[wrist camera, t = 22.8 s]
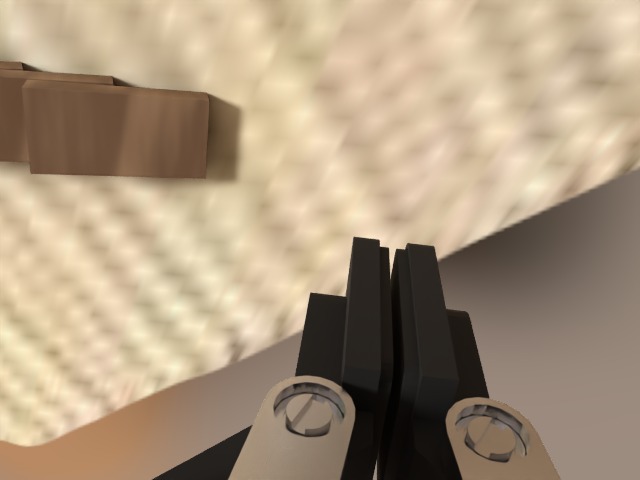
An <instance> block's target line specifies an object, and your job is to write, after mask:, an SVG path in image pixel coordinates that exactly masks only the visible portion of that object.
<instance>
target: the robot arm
mask: <svg viewBox="0 0 640 480" xmlns="http://www.w3.org/2000/svg"><path fill="white" fill-rule="evenodd" d="M376 460H377V480H561V478H560V476H559V474H558V472H557V470H556V468H555V467H554V464H553V462H552V461H551V459H550V457H549V455H548V453H547V451H546V449H545V447H544V445H543V443H542V441H541V439H540V437H539V435H538V433H537V431H536V430H535V428H534V427H533V425H532V424H531V422H530V421H529V420H528V419H527V418H525V417H524V416H523V415H522V414H521V413H520V412H519V411H517V410H515V409H514V408H512V407H510V406H509V405H507V404H505V403H502V402H499V401H496V400H493V399H489V395H488V390H487V386H486V382H485V378H484V374H483V370H482V366H481V362H480V358H479V353H478V349H477V345H476V341H475V337H474V333H473V329H472V325H471V321H470V317H469V314H468V313H467V312H465V311H457V310H449V309H446V307H445V302H444V296H443V290H442V285H441V280H440V275H439V269H438V263H437V258H436V253H435V248H434V246H427V245H419V244H410V243H407V245H406V249H405V250H404V249H396V252H395V257H394V263H393V268H392V274H391V280H390V261H389V248H387V247H380V241H379V240H377V239H368V238H360V237H354V238H353V245H352V253H351V260H350V268H349V275H348V283H347V290H346V297H343V296H334V295H326V294H318V293H310V298H309V303H308V308H307V314H306V319H305V325H304V330H303V336H302V341H301V347H300V353H299V358H298V363H297V368H296V374H295V377H292V378H289V379H287V380H284V381H281V382H280V383H278V384H277V385H276V386H274V387H273V388H272V389H271V390H270V392H269V393H268V395H267V396H266V397H265V400H264V402H263V404H262V406H261V409H260V411H259V413H258V415H257V417H256V419H255V422H254V424H253V425H252V426H250V427H248V428H246V429H244V430H242V431H240V432H239V433H237V434H235V435H233V436H231V437H229V438H227V439H226V440H224V441H222V442H220V443H218V444H217V445H215V446H213V447H211V448H209V449H207V450H205V451H204V452H202V453H200V454H198V455H196V456H195V457H193V458H191V459H189V460H187V461H185V462H183V463H182V464H180V465H178V466H176V467H174V468H173V469H171V470H169V471H167V472H165V473H163V474H161V475H159V476H158V477H156V478H154V479H153V480H373V475H374V470H375V465H376Z"/></svg>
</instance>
